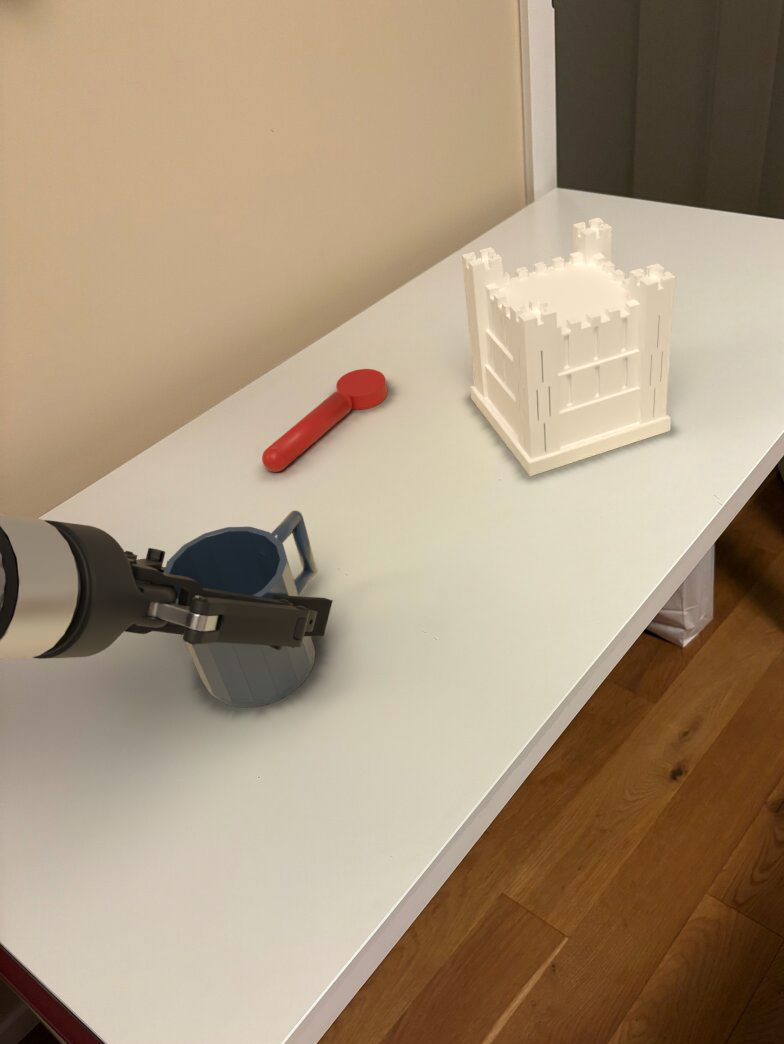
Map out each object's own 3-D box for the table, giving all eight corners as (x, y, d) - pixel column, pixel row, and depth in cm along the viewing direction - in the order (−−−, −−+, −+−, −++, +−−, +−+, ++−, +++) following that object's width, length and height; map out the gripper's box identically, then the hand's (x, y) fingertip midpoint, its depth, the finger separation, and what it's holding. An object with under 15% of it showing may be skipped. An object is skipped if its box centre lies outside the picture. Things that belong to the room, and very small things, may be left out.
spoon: (289, 483, 88) (284, 462, 86) (250, 469, 90) (243, 448, 88) (397, 388, 97) (393, 368, 95) (358, 377, 99) (354, 357, 98)
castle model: (471, 398, 94) (456, 254, 84) (598, 359, 97) (600, 215, 87) (530, 476, 85) (522, 324, 74) (670, 430, 87) (681, 277, 77)
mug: (273, 722, 68) (236, 627, 61) (180, 686, 71) (135, 592, 64) (365, 602, 76) (342, 505, 69) (277, 575, 79) (247, 480, 72)
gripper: (-113, 603, 55) (152, 610, 76) (171, 717, 47) (381, 690, 68) (-86, 478, 55) (174, 519, 75) (206, 571, 46) (407, 588, 67)
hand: (272, 600), depth 71 cm, fingers closed on mug, 9 cm apart
